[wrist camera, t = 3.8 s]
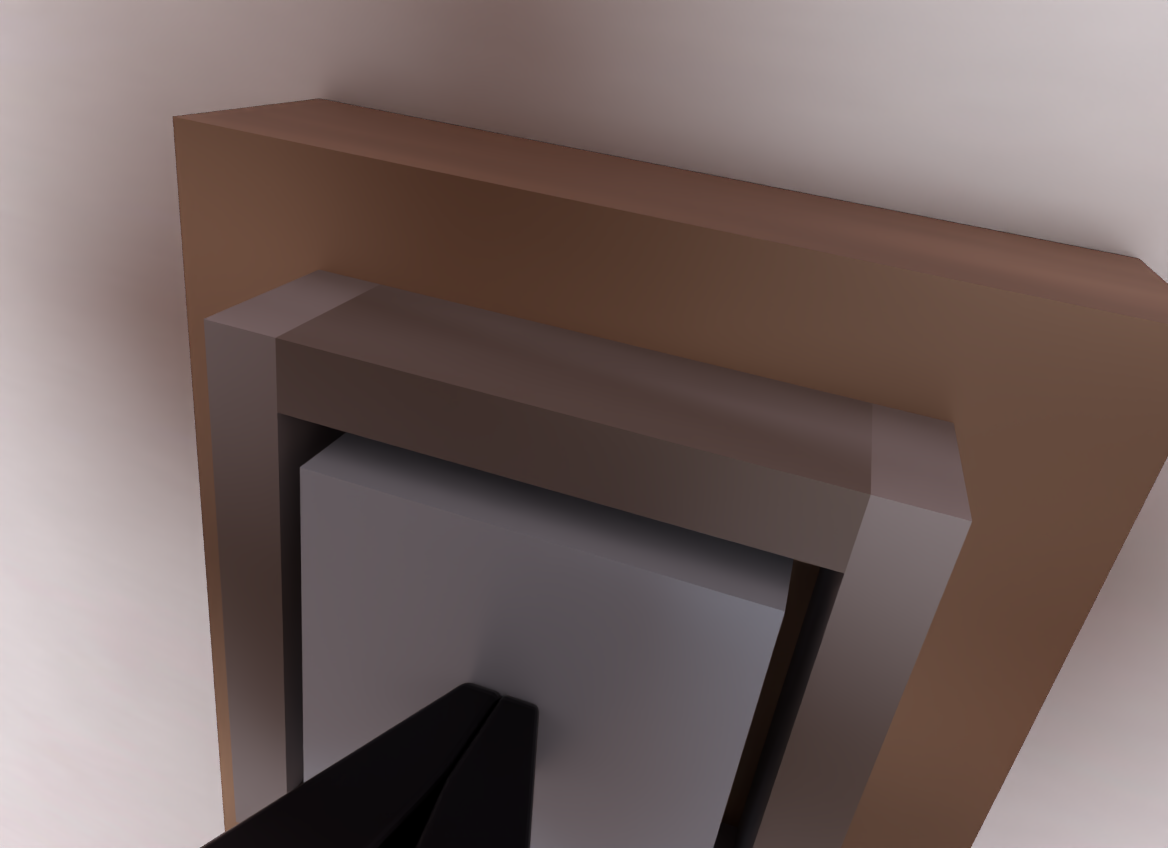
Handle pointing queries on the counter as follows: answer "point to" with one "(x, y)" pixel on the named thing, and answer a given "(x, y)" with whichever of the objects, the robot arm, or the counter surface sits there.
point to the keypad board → (680, 426)
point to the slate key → (536, 635)
